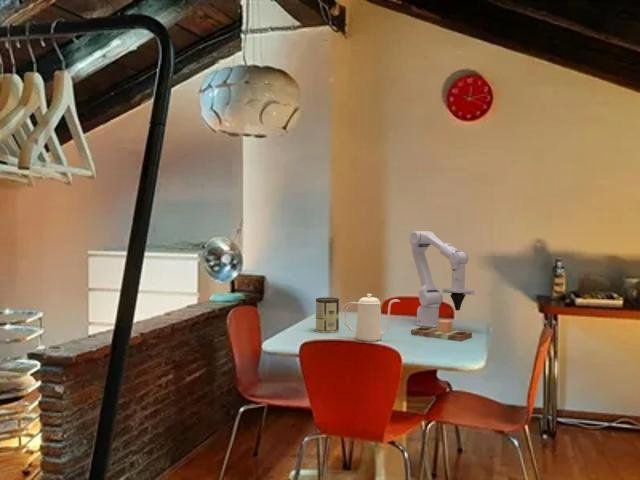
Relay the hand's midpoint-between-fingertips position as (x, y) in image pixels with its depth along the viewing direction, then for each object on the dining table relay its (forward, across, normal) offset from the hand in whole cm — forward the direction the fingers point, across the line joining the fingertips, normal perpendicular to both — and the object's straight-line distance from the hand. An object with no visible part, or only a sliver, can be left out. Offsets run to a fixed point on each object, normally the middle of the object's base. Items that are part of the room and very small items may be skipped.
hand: (457, 310), depth 309 cm
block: (+7, +1, -14) cm, 16 cm away
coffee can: (+10, -46, -34) cm, 58 cm away
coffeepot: (+10, -21, -39) cm, 45 cm away
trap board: (+9, -1, -14) cm, 17 cm away
